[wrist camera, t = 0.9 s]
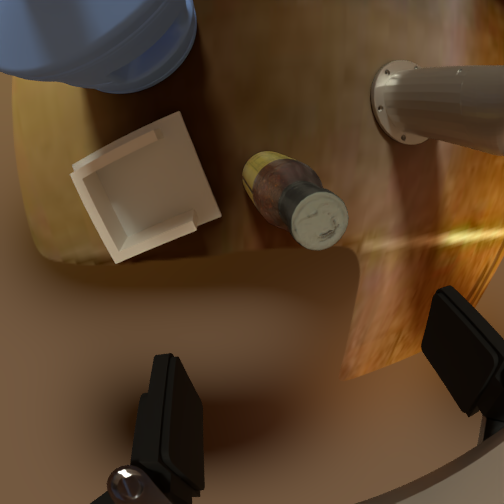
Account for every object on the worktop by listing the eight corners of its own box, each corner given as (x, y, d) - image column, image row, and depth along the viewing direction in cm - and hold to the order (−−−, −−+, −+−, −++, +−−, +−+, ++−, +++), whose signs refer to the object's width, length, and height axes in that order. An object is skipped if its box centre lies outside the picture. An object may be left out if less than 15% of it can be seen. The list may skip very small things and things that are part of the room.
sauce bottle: (287, 198, 38) (354, 273, 21) (239, 197, 38) (270, 276, 20) (291, 148, 36) (371, 183, 18) (241, 145, 35) (278, 177, 17)
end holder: (180, 111, 32) (174, 109, 27) (221, 213, 38) (223, 229, 33) (75, 163, 32) (56, 172, 27) (120, 254, 38) (109, 275, 33)
